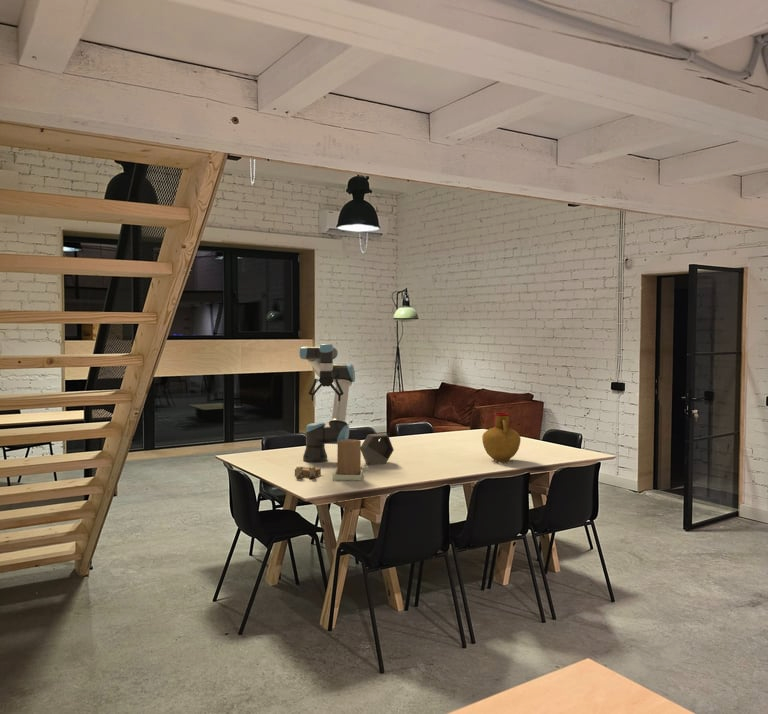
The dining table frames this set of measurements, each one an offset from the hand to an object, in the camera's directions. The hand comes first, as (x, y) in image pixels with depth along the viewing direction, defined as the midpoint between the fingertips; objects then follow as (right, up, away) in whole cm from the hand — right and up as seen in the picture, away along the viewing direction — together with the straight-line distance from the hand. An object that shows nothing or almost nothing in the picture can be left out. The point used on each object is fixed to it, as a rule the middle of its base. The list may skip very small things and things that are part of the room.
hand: (326, 406), depth 386 cm
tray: (+14, -38, -20) cm, 45 cm away
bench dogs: (-9, -38, -22) cm, 45 cm away
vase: (+108, -37, +33) cm, 118 cm away
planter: (+29, -36, +21) cm, 51 cm away
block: (+14, -37, -20) cm, 45 cm away
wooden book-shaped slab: (-9, -38, -15) cm, 41 cm away
